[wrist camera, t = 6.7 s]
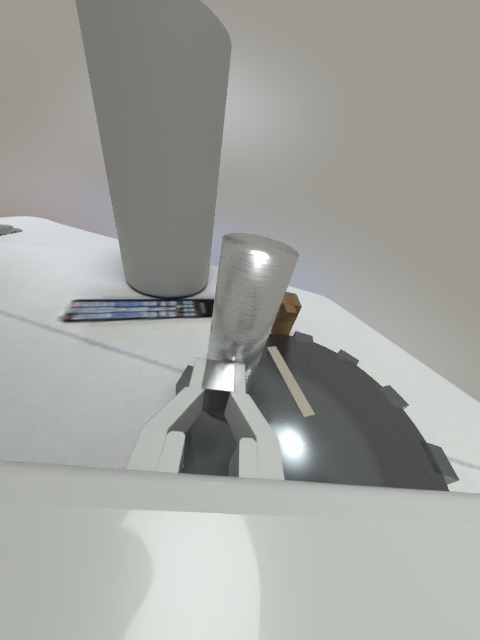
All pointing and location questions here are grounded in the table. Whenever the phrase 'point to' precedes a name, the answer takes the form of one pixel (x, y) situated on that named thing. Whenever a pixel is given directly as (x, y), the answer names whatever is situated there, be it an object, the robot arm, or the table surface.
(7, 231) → the caliper
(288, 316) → the brown wooden block
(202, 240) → the cylinder vase
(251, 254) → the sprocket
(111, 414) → the table surface
